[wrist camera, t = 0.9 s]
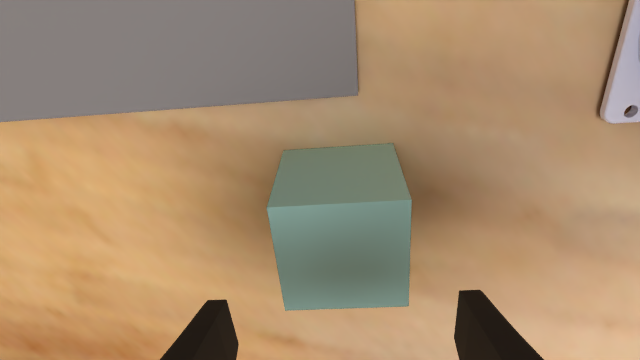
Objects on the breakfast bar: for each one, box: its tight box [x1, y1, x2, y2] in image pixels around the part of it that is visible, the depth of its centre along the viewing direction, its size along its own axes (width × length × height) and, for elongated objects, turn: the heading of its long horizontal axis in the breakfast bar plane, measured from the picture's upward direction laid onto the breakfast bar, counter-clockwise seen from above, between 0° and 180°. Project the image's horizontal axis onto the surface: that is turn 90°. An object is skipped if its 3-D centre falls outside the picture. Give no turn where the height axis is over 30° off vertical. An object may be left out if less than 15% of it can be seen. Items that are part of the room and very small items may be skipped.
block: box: [267, 143, 412, 311], centre depth 17 cm, size 5×5×5 cm
